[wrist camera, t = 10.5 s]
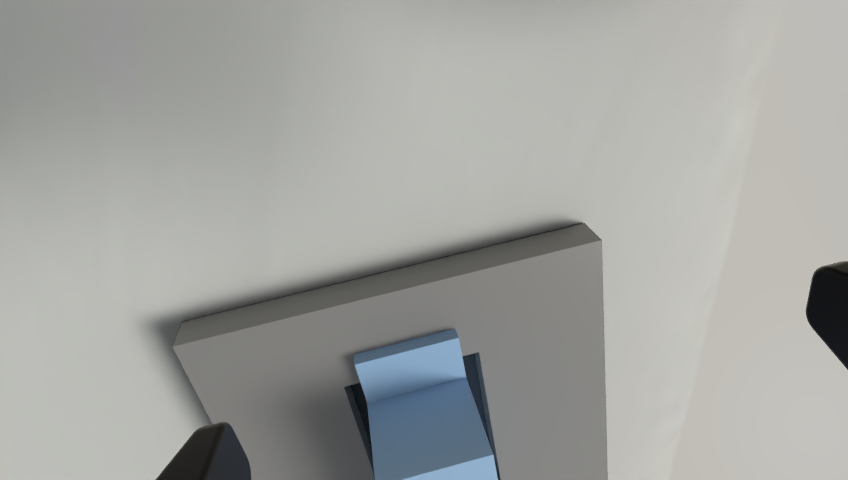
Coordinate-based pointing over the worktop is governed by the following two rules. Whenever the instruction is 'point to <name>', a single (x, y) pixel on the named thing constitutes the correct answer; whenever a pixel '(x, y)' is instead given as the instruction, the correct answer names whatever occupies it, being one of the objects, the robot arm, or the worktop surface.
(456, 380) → the servo
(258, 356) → the chassis
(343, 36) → the worktop surface
